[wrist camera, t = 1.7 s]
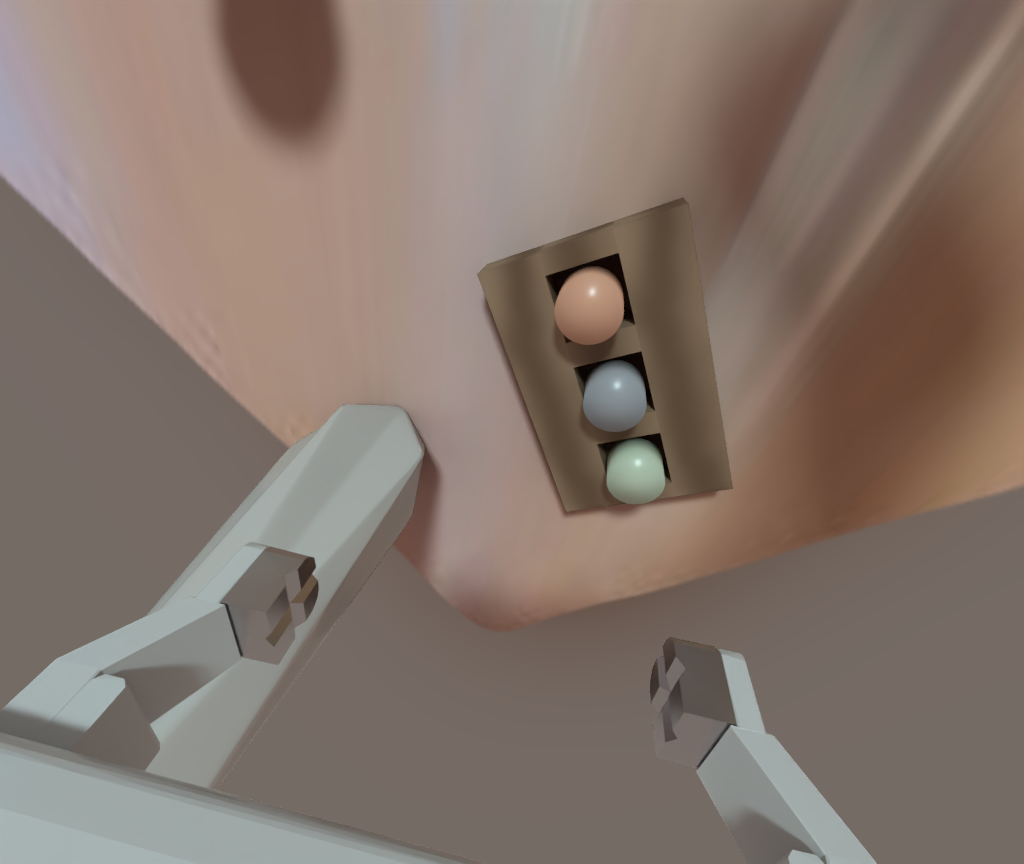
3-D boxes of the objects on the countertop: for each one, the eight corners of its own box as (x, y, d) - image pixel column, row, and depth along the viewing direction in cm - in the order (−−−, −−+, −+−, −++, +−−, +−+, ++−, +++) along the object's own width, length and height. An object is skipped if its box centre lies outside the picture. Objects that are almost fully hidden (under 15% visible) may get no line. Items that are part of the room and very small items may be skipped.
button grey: (637, 353, 34) (639, 370, 32) (650, 405, 36) (652, 425, 34) (578, 367, 36) (575, 385, 33) (593, 416, 38) (591, 436, 35)
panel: (682, 197, 31) (688, 203, 28) (725, 466, 40) (732, 488, 38) (487, 264, 35) (477, 274, 33) (569, 490, 45) (566, 511, 43)
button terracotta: (615, 257, 31) (614, 268, 28) (629, 319, 33) (630, 335, 30) (551, 277, 32) (545, 289, 30) (569, 335, 34) (565, 351, 32)
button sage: (656, 433, 37) (659, 454, 35) (666, 476, 39) (670, 500, 37) (601, 443, 39) (600, 464, 36) (614, 484, 41) (613, 507, 38)
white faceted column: (468, 472, 46) (253, 959, 19) (373, 491, 50) (81, 917, 23) (413, 363, 41) (4, 824, 14) (311, 394, 45) (-164, 800, 18)
